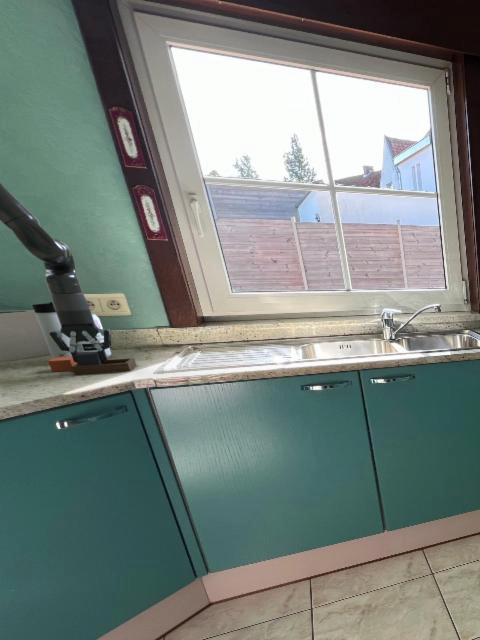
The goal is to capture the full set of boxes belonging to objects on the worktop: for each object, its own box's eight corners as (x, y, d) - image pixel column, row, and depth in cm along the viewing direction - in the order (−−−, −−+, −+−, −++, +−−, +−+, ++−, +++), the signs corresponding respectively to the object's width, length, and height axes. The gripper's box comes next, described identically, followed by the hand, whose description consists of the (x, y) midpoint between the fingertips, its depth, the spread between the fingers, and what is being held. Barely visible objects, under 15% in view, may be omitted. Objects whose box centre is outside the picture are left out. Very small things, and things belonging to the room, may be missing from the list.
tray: (74, 374, 153) (71, 366, 152) (83, 369, 160) (80, 361, 159) (130, 371, 159) (127, 363, 158) (136, 365, 167) (134, 358, 166)
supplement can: (91, 355, 179) (76, 313, 174) (117, 355, 181) (103, 313, 175) (74, 359, 172) (57, 315, 166) (101, 359, 173) (86, 316, 168)
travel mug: (68, 364, 166) (45, 302, 158) (48, 363, 166) (24, 302, 158) (86, 360, 172) (64, 301, 164) (67, 359, 171) (44, 300, 164)
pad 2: (78, 366, 154) (74, 355, 153) (84, 362, 159) (80, 352, 157) (100, 365, 156) (96, 354, 155) (105, 361, 161) (101, 351, 160)
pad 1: (52, 372, 155) (47, 361, 154) (58, 368, 160) (54, 357, 159) (73, 370, 158) (69, 359, 157) (79, 366, 163) (75, 356, 161)
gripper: (34, 310, 145) (56, 367, 151) (100, 308, 152) (118, 363, 158) (44, 307, 150) (65, 362, 157) (106, 306, 157) (124, 359, 164)
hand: (92, 362), depth 157 cm, fingers closed on pad 2, 5 cm apart
